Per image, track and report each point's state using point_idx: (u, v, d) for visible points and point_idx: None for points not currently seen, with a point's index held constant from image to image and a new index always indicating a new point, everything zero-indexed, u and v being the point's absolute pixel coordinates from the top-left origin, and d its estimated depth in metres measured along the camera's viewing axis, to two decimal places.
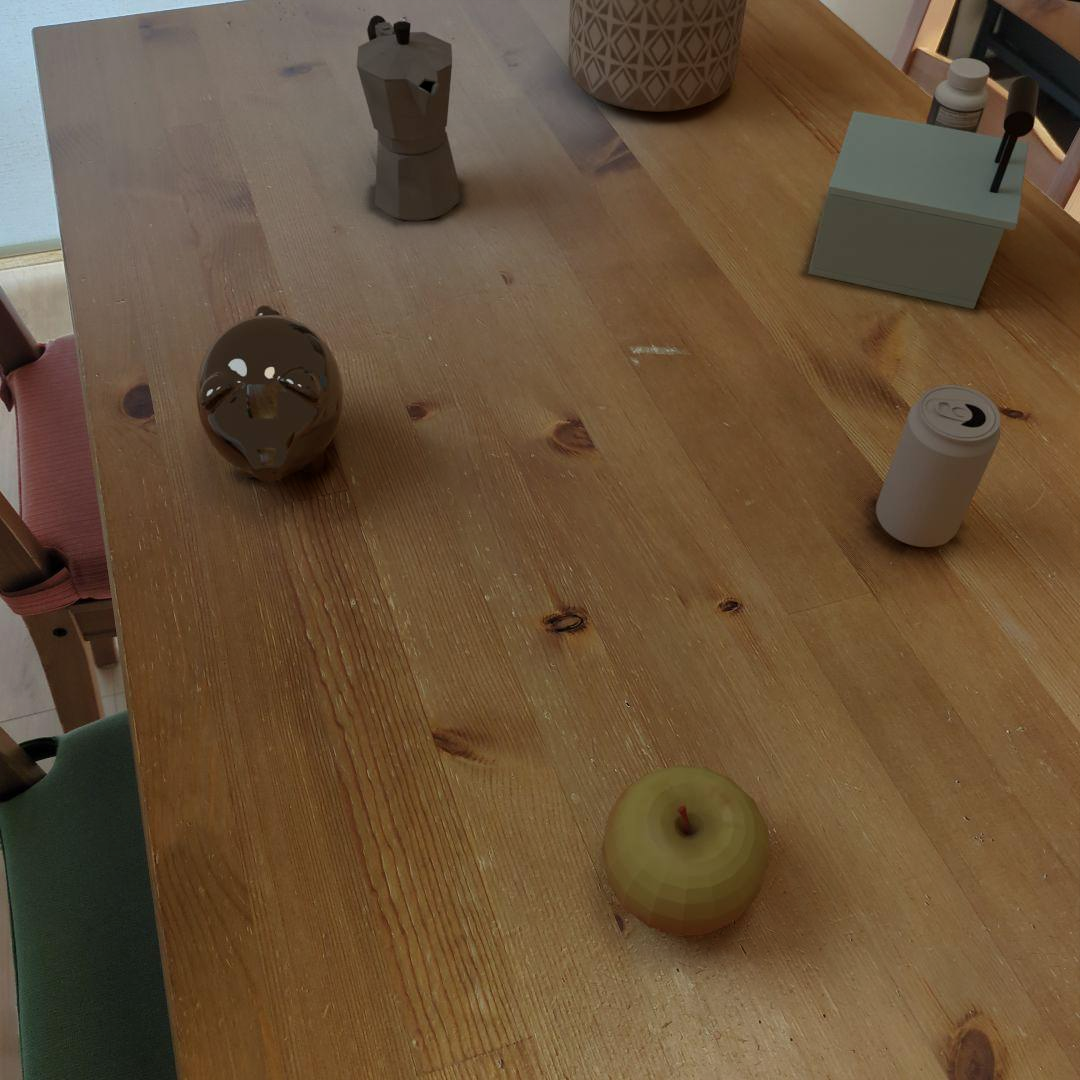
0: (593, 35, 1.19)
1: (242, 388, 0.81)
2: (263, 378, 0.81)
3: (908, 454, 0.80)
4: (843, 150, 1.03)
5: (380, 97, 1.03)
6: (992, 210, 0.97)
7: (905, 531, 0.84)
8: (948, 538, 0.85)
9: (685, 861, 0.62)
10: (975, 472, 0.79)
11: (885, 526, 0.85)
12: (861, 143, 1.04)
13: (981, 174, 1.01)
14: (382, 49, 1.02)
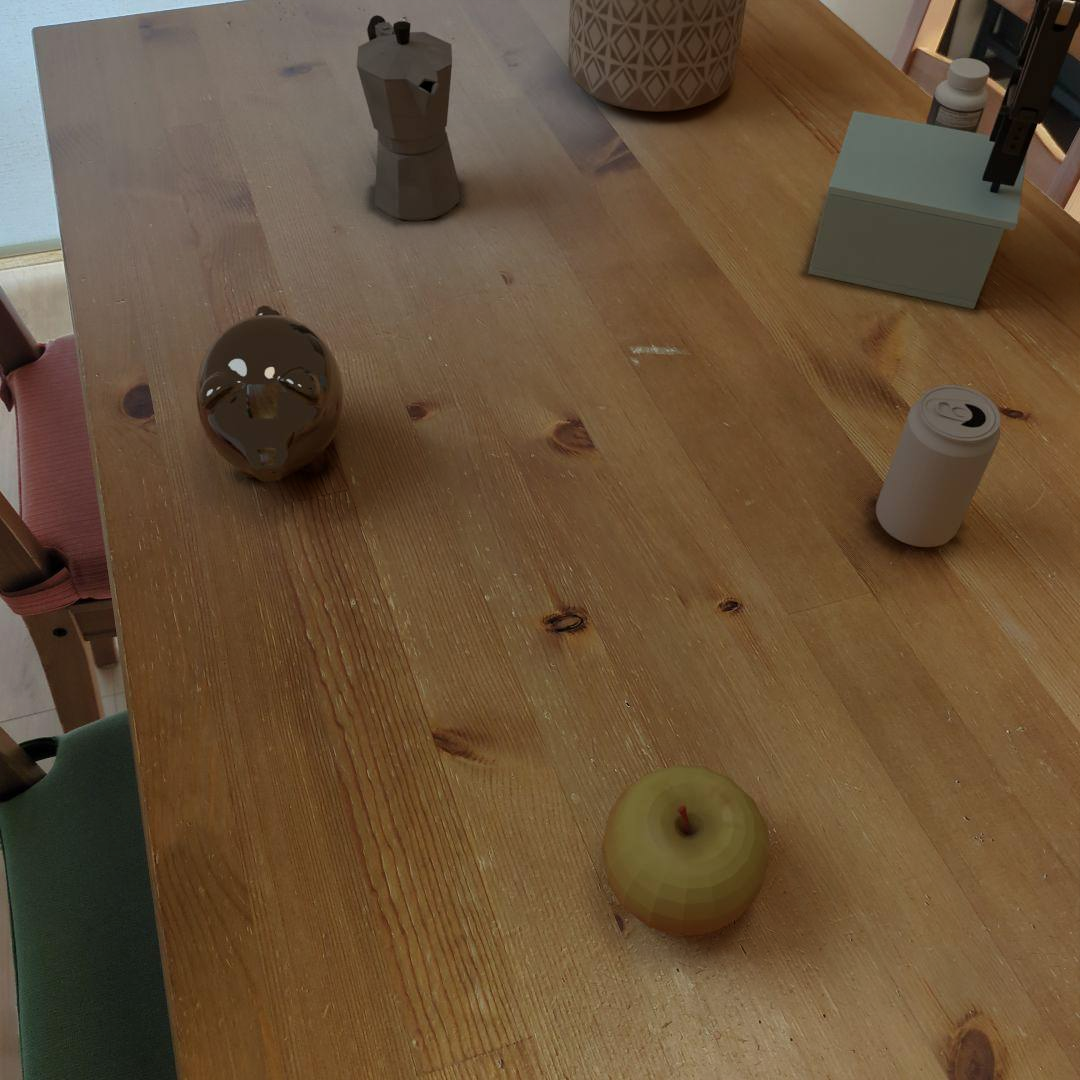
0: (593, 35, 1.19)
1: (242, 388, 0.81)
2: (263, 378, 0.81)
3: (908, 454, 0.80)
4: (843, 150, 1.03)
5: (380, 97, 1.03)
6: (992, 210, 0.97)
7: (905, 531, 0.84)
8: (948, 538, 0.85)
9: (685, 861, 0.62)
10: (975, 472, 0.79)
11: (885, 526, 0.85)
12: (861, 143, 1.04)
13: (981, 174, 1.01)
14: (382, 49, 1.02)
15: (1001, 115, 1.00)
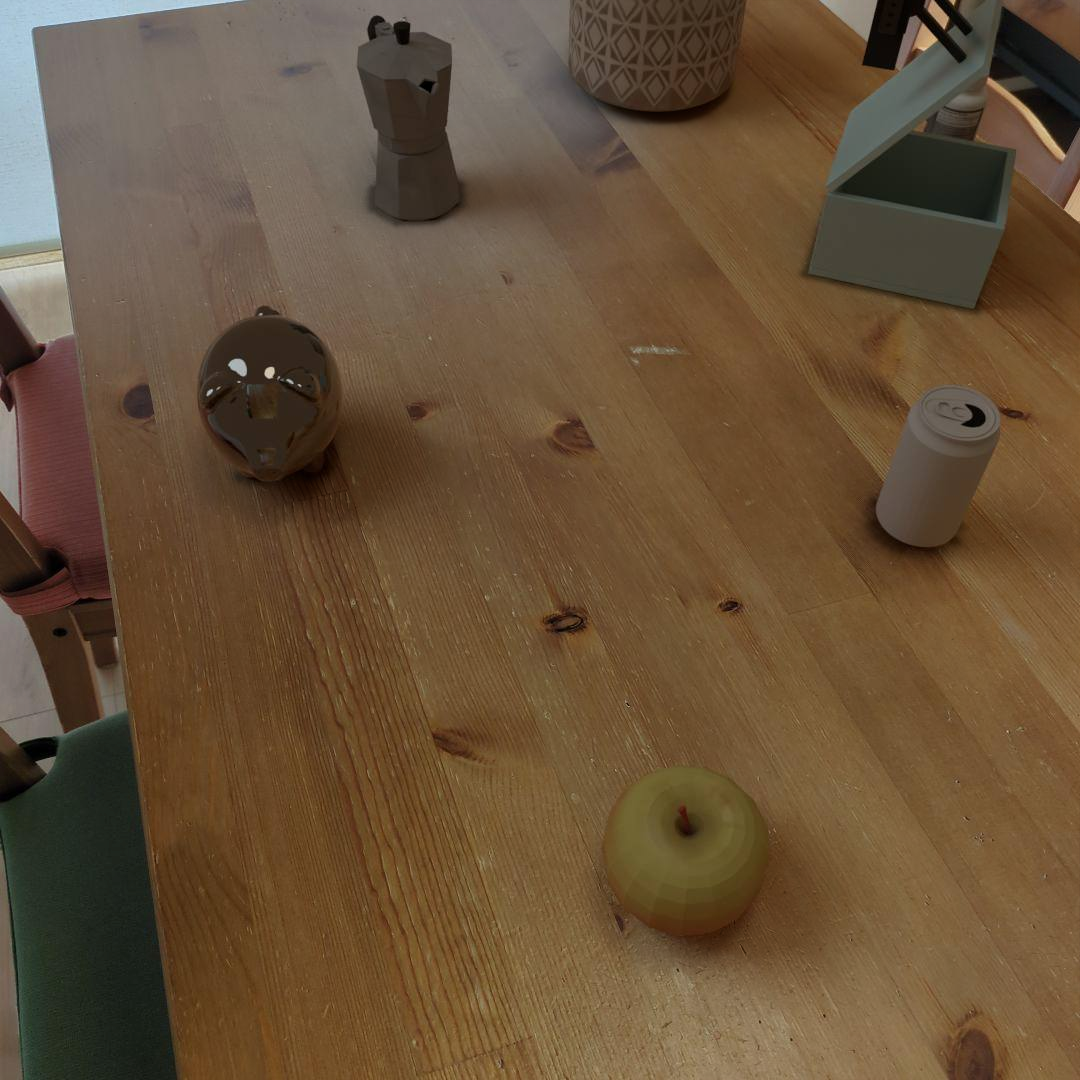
0: (593, 35, 1.19)
1: (242, 388, 0.81)
2: (263, 378, 0.81)
3: (908, 454, 0.80)
4: (839, 149, 1.03)
5: (380, 97, 1.03)
6: (961, 76, 0.90)
7: (905, 531, 0.84)
8: (948, 538, 0.85)
9: (685, 861, 0.62)
10: (975, 472, 0.79)
11: (885, 526, 0.85)
12: (853, 130, 1.03)
13: (953, 56, 0.94)
14: (382, 49, 1.02)
15: None
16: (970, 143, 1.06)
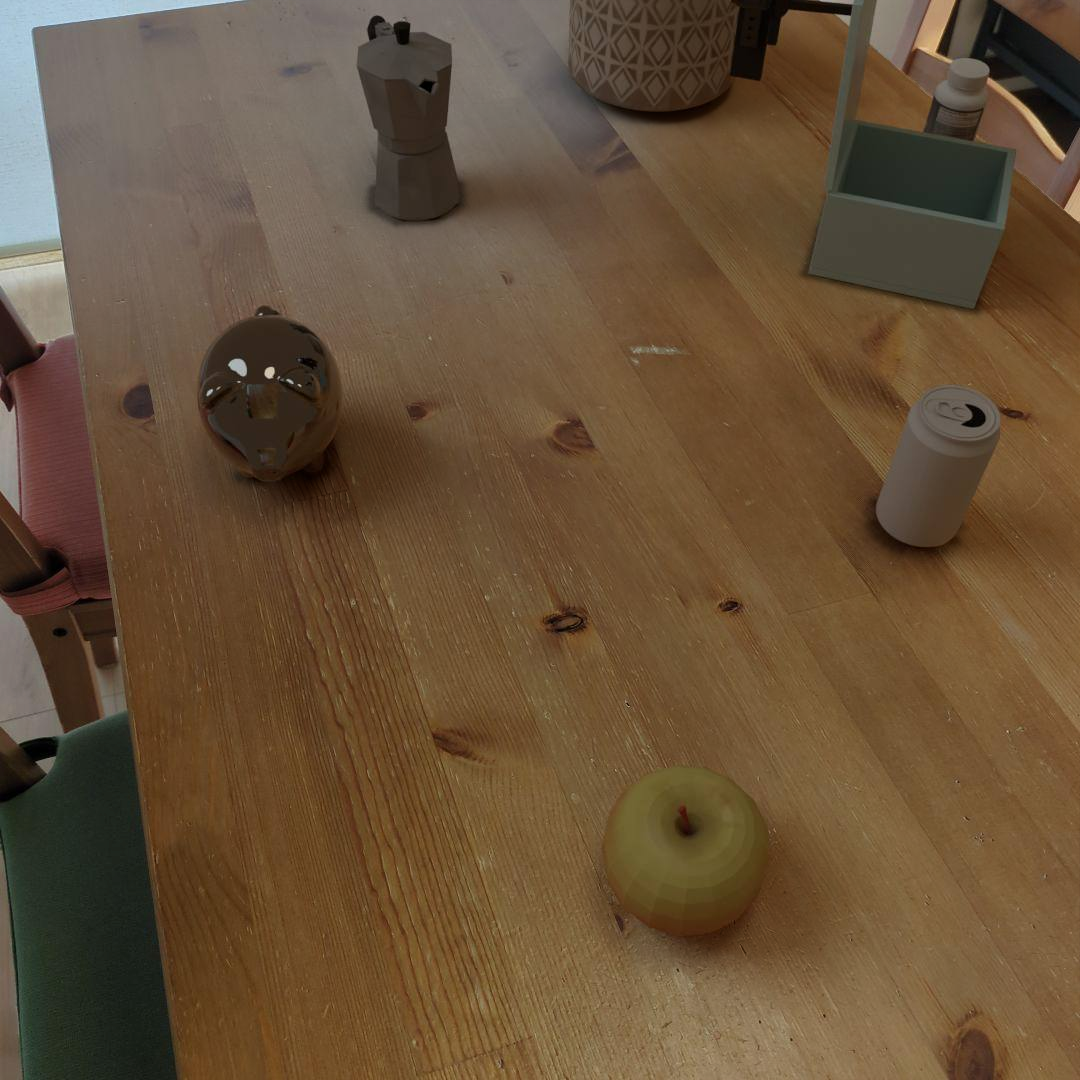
0: (593, 35, 1.19)
1: (242, 388, 0.81)
2: (263, 378, 0.81)
3: (908, 454, 0.80)
4: None
5: (380, 98, 1.03)
6: None
7: (905, 531, 0.84)
8: (948, 538, 0.85)
9: (685, 861, 0.62)
10: (975, 472, 0.79)
11: (885, 526, 0.85)
12: None
13: None
14: (382, 49, 1.02)
15: None
16: (970, 143, 1.06)
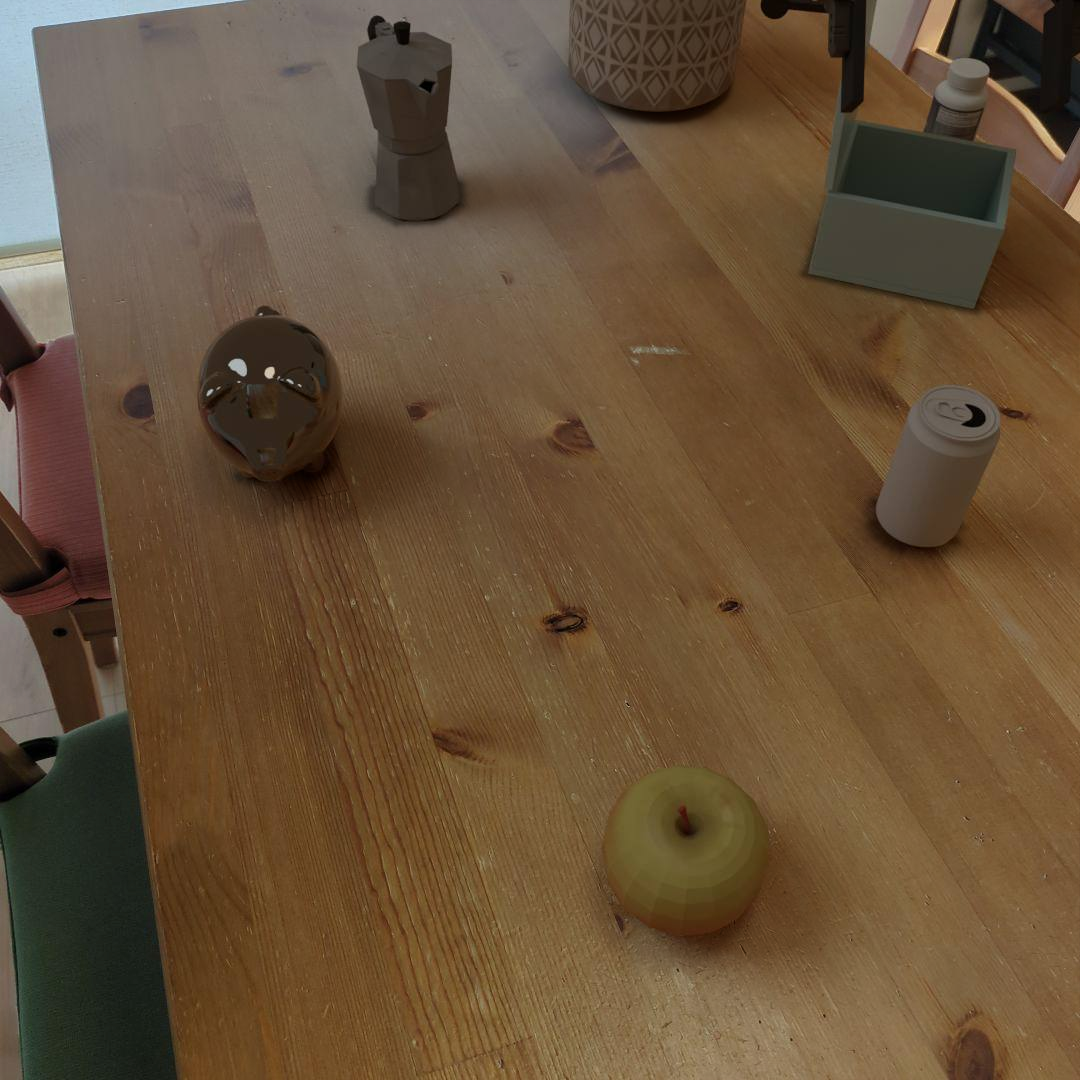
0: (593, 35, 1.19)
1: (242, 388, 0.81)
2: (263, 378, 0.81)
3: (908, 454, 0.80)
4: None
5: (380, 98, 1.03)
6: None
7: (905, 531, 0.84)
8: (948, 538, 0.85)
9: (685, 861, 0.62)
10: (975, 472, 0.79)
11: (885, 526, 0.85)
12: None
13: None
14: (382, 49, 1.02)
15: (1042, 72, 0.75)
16: (970, 143, 1.06)
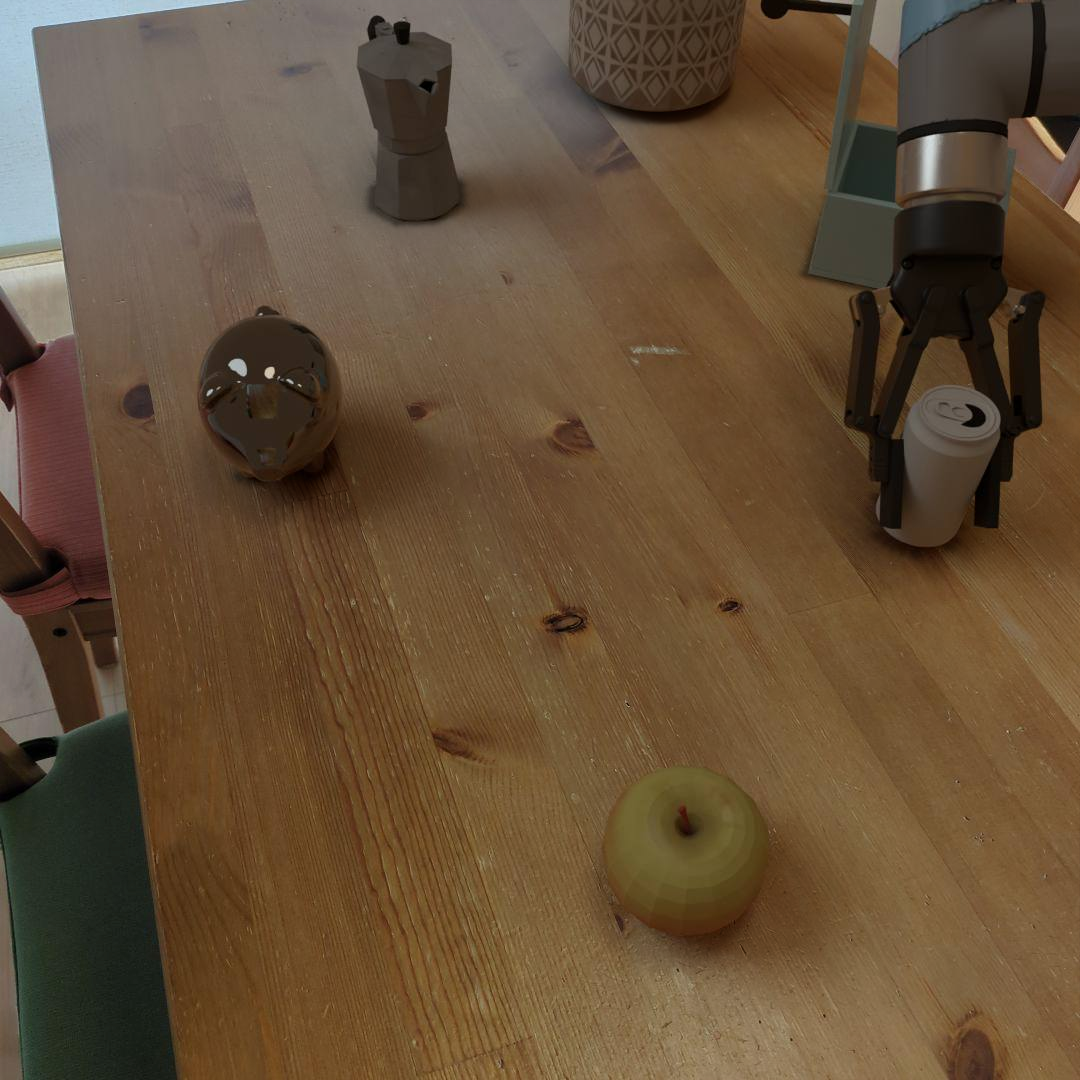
0: (593, 35, 1.19)
1: (242, 388, 0.81)
2: (263, 378, 0.81)
3: (908, 454, 0.80)
4: None
5: (380, 97, 1.03)
6: None
7: (905, 531, 0.84)
8: (948, 538, 0.85)
9: (685, 861, 0.62)
10: (975, 472, 0.79)
11: None
12: None
13: None
14: (382, 49, 1.02)
15: (976, 491, 0.83)
16: None
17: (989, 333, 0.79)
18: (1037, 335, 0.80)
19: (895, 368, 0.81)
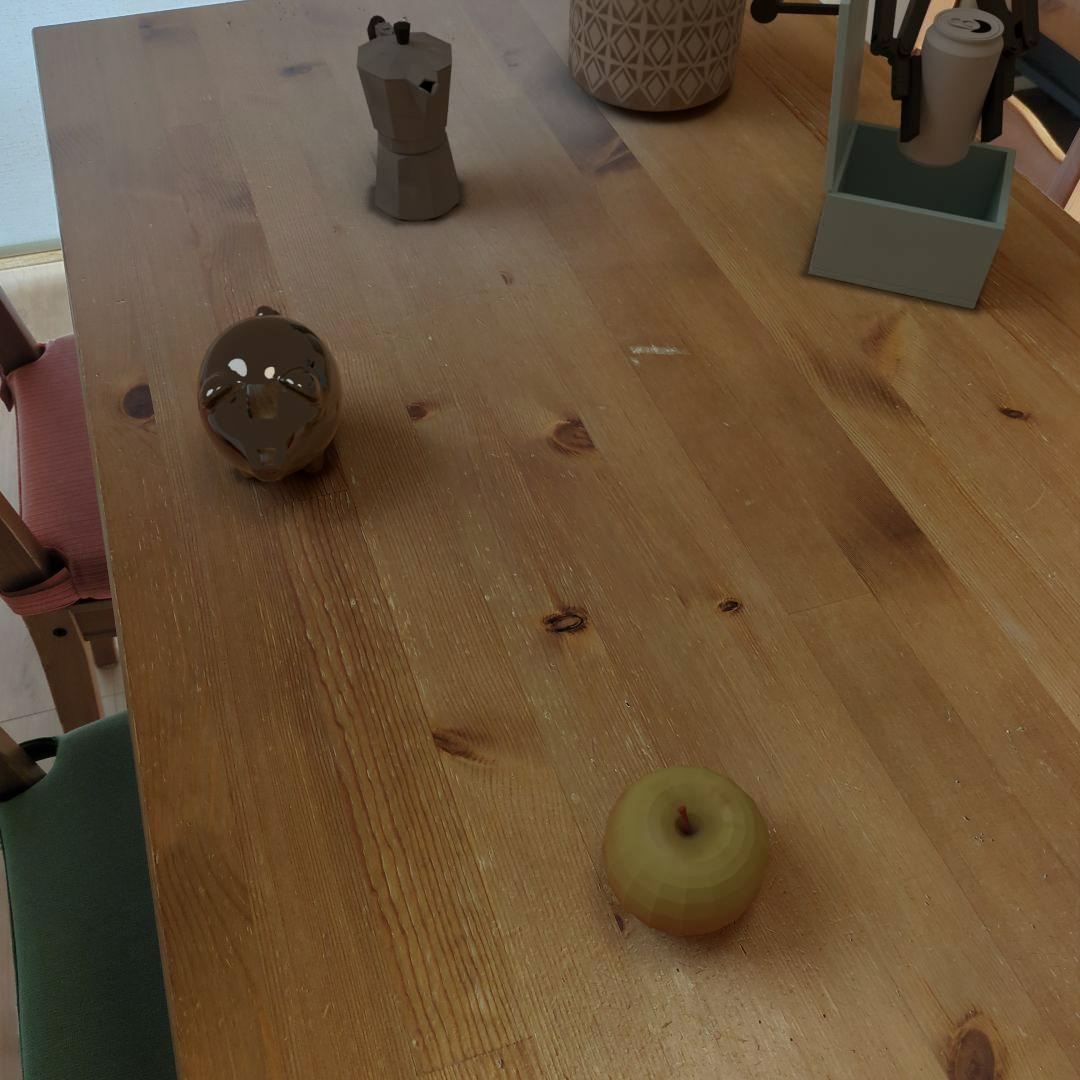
0: (593, 35, 1.19)
1: (242, 388, 0.81)
2: (263, 378, 0.81)
3: (925, 66, 0.94)
4: None
5: (380, 98, 1.03)
6: None
7: (921, 149, 0.98)
8: (958, 157, 0.99)
9: (685, 861, 0.62)
10: (982, 76, 0.93)
11: (904, 150, 0.99)
12: None
13: None
14: (382, 49, 1.02)
15: (982, 111, 0.97)
16: None
17: None
18: None
19: None
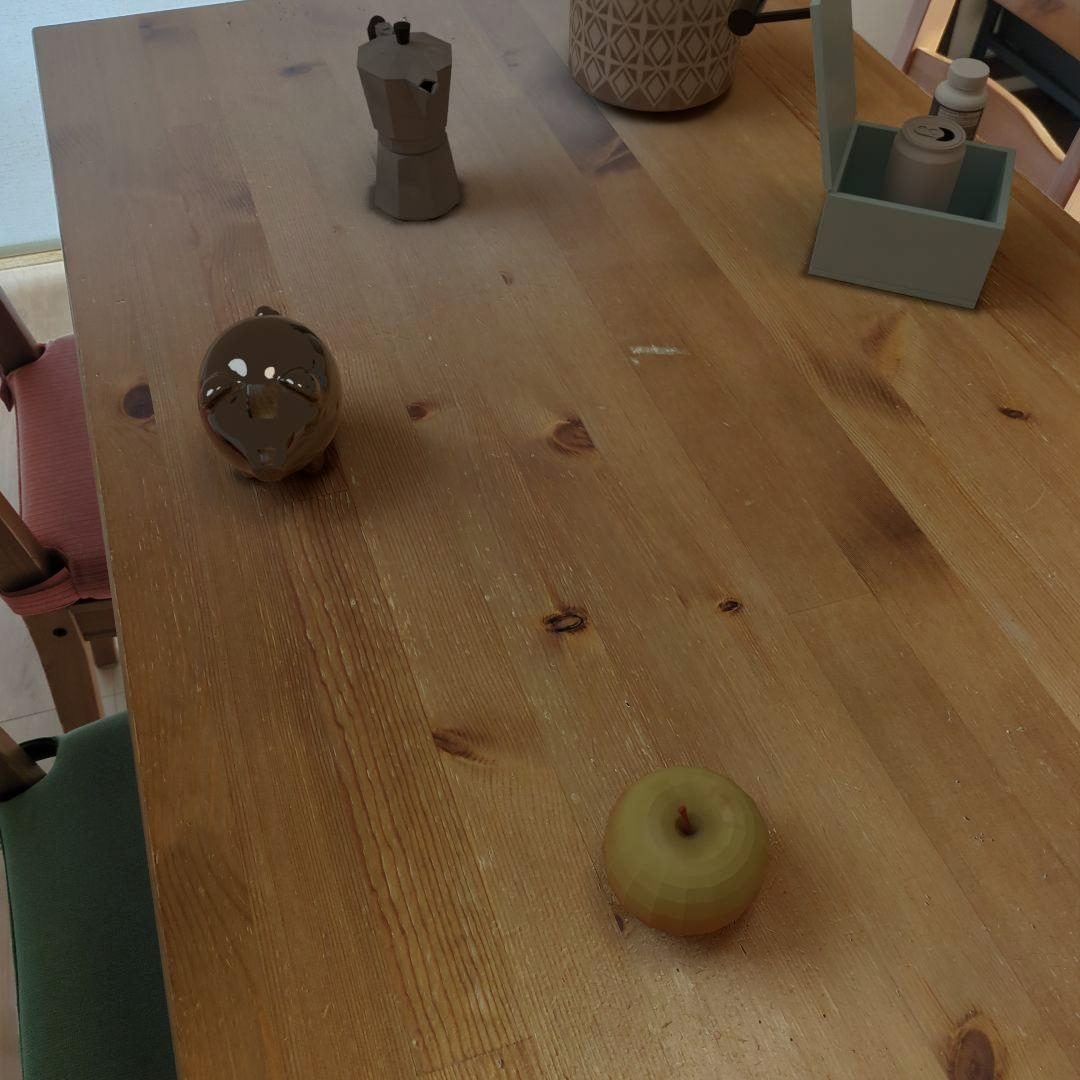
0: (593, 35, 1.19)
1: (242, 388, 0.81)
2: (263, 378, 0.81)
3: (894, 169, 1.01)
4: None
5: (380, 97, 1.03)
6: None
7: None
8: None
9: (685, 861, 0.62)
10: (946, 180, 1.00)
11: None
12: None
13: None
14: (382, 49, 1.02)
15: None
16: (970, 143, 1.06)
17: None
18: None
19: None
